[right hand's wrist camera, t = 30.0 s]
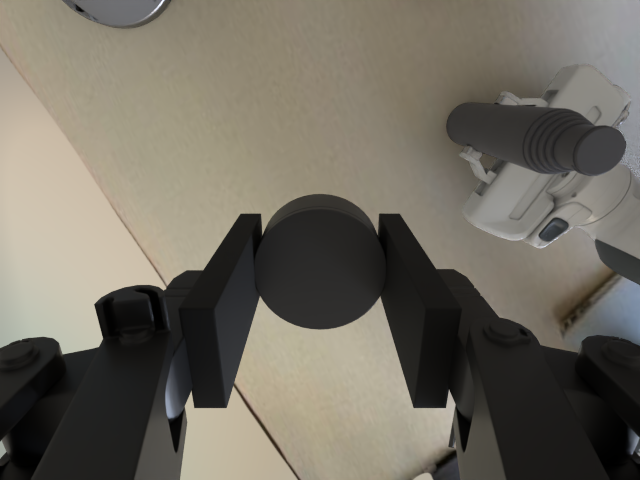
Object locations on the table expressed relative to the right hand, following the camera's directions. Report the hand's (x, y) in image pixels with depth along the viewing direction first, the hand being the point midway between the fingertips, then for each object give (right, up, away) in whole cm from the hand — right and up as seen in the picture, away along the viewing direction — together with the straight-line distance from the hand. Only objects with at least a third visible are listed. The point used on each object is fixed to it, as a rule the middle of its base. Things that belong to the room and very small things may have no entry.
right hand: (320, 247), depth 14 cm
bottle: (+19, +15, +34) cm, 42 cm away
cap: (0, -1, -2) cm, 2 cm away
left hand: (+18, +13, +28) cm, 36 cm away
